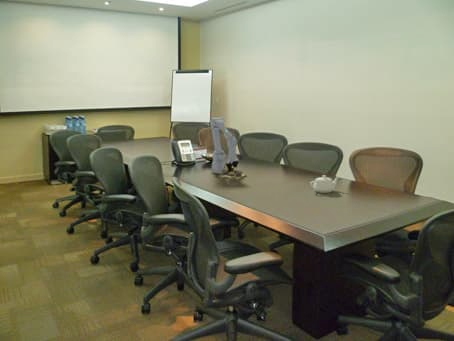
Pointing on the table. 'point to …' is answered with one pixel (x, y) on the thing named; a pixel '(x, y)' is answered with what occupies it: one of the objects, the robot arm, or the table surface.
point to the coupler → (233, 171)
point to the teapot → (324, 184)
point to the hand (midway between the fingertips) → (232, 171)
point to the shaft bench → (226, 175)
